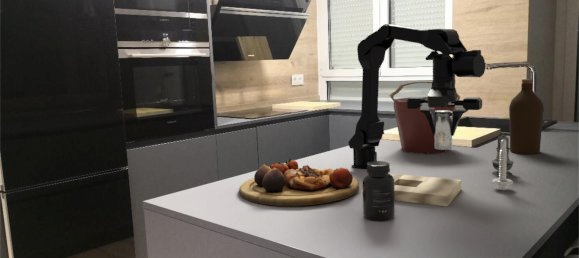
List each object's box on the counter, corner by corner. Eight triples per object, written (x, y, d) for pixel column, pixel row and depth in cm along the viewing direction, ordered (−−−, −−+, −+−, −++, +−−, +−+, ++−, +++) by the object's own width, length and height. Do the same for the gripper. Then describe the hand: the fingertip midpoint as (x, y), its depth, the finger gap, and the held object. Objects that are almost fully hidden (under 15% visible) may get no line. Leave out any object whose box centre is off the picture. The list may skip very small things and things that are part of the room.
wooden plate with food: (383, 188, 131) (383, 157, 130) (299, 216, 109) (298, 180, 108) (299, 173, 154) (297, 147, 153) (215, 194, 132) (213, 164, 131)
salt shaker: (515, 176, 137) (517, 134, 135) (493, 176, 138) (494, 134, 136) (510, 171, 142) (511, 130, 141) (489, 171, 144) (490, 131, 142)
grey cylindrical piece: (432, 149, 131) (432, 112, 130) (436, 146, 135) (436, 110, 134) (450, 150, 129) (450, 112, 128) (453, 147, 133) (454, 110, 132)
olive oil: (521, 155, 163) (524, 80, 160) (501, 150, 173) (503, 79, 170) (549, 153, 165) (552, 79, 162) (527, 148, 176) (529, 78, 172)
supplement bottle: (359, 212, 110) (359, 160, 108) (389, 210, 111) (389, 159, 109) (367, 222, 103) (366, 167, 102) (398, 220, 104) (398, 165, 102)
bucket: (380, 150, 180) (379, 83, 177) (408, 141, 197) (408, 79, 193) (444, 157, 165) (445, 83, 161) (469, 147, 181) (470, 79, 178)
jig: (372, 197, 121) (372, 188, 121) (393, 182, 135) (393, 173, 135) (447, 206, 112) (447, 196, 112) (461, 189, 126) (461, 179, 126)
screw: (516, 190, 123) (502, 192, 122) (501, 185, 128) (487, 188, 126) (518, 139, 122) (504, 141, 120) (503, 136, 126) (488, 138, 124)
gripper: (400, 79, 127) (400, 138, 130) (475, 78, 118) (474, 142, 120) (412, 76, 137) (412, 132, 139) (483, 76, 128) (481, 135, 130)
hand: (443, 135), depth 132 cm, fingers closed on grey cylindrical piece, 4 cm apart
